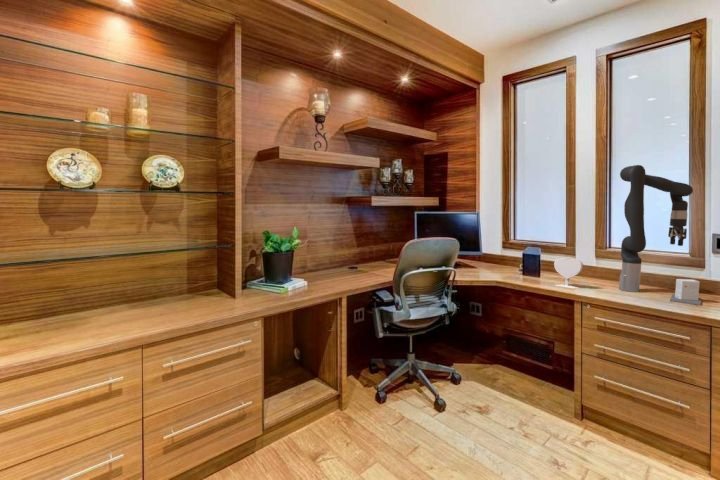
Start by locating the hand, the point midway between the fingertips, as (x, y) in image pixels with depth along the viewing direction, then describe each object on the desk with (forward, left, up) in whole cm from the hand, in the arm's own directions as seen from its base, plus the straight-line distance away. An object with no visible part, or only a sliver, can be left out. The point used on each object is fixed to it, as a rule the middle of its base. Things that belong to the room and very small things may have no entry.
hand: (676, 245), depth 214 cm
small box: (-5, -25, -28) cm, 38 cm away
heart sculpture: (-59, -8, -28) cm, 66 cm away
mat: (-5, -25, -28) cm, 38 cm away
